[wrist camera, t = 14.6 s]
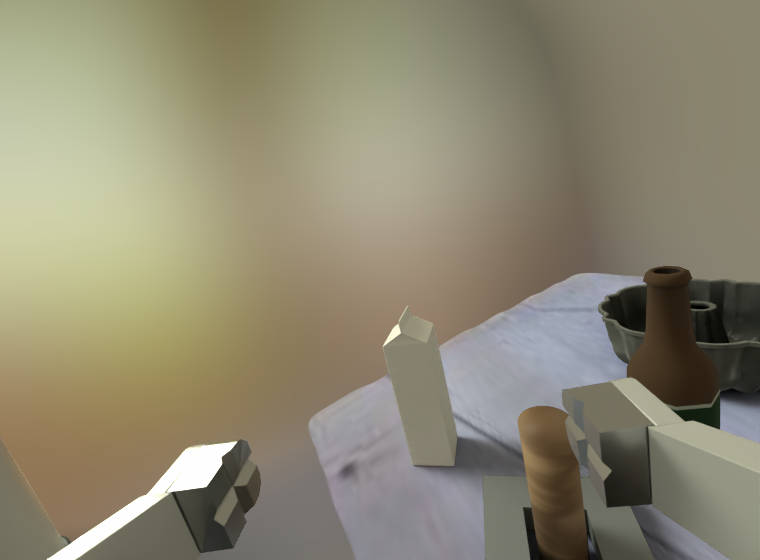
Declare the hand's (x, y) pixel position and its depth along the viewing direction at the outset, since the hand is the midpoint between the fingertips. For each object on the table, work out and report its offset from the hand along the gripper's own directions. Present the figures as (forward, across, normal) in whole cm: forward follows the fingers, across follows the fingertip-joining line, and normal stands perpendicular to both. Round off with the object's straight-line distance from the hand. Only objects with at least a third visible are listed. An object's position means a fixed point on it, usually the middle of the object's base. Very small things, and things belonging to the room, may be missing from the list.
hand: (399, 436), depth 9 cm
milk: (+36, -3, -32) cm, 48 cm away
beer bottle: (+28, +24, -32) cm, 49 cm away
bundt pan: (+48, +41, -32) cm, 71 cm away
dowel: (+19, +9, -32) cm, 38 cm away
